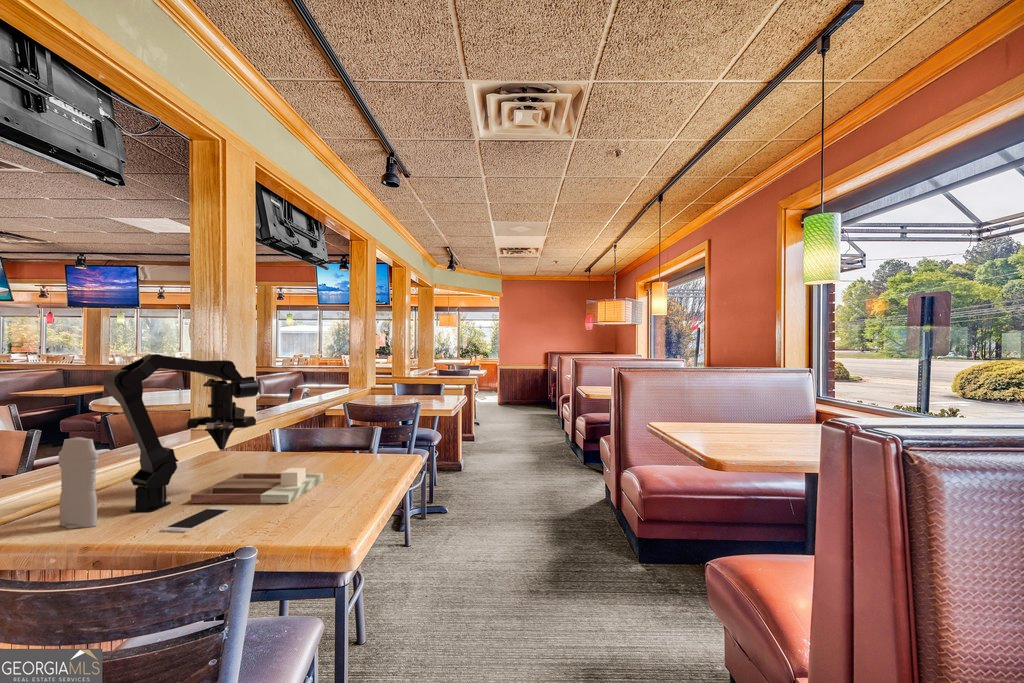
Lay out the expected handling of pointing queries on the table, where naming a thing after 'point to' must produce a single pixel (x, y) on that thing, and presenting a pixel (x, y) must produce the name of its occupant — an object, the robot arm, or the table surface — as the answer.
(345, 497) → the table surface
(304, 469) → the block
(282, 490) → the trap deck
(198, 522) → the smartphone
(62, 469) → the tall pale column
